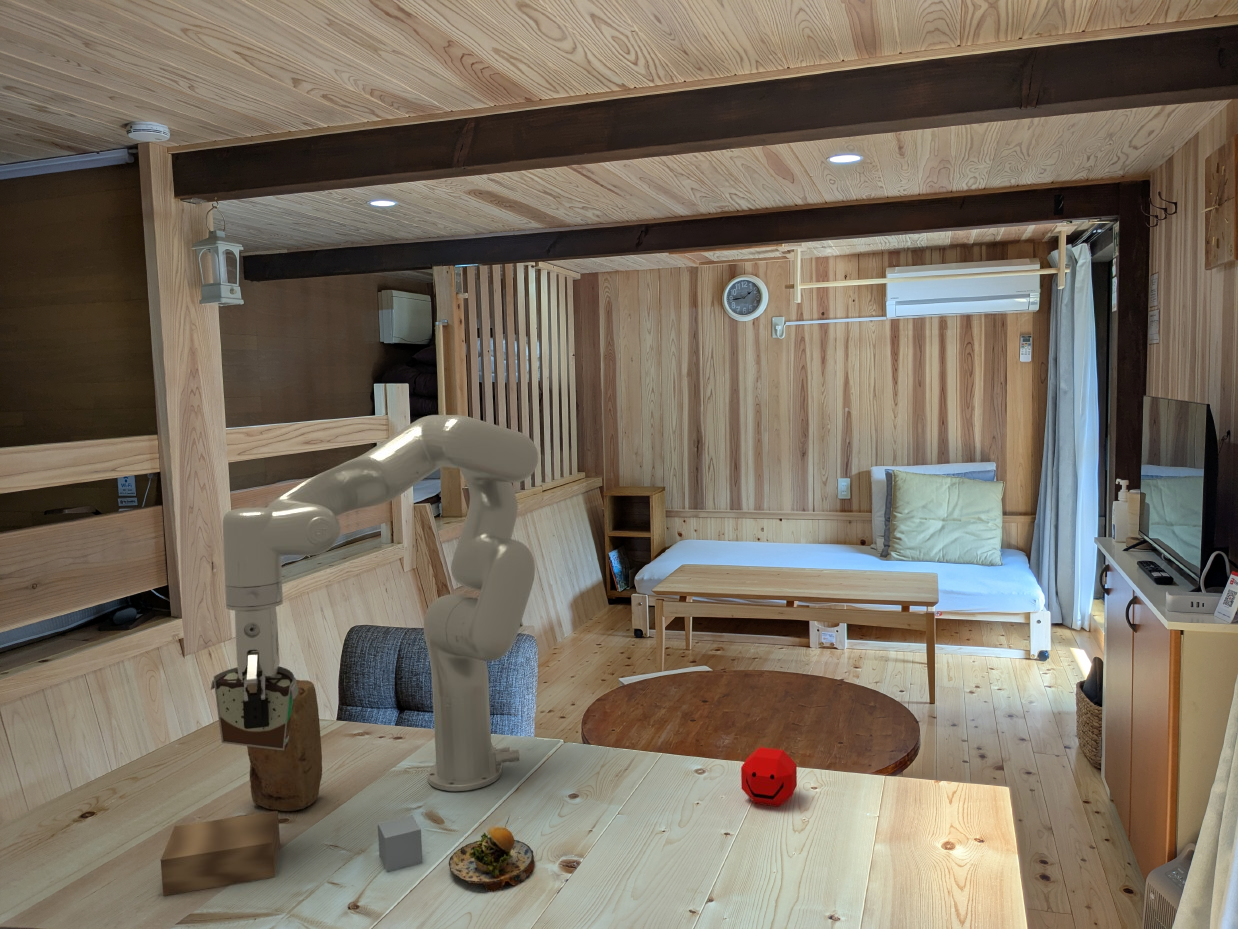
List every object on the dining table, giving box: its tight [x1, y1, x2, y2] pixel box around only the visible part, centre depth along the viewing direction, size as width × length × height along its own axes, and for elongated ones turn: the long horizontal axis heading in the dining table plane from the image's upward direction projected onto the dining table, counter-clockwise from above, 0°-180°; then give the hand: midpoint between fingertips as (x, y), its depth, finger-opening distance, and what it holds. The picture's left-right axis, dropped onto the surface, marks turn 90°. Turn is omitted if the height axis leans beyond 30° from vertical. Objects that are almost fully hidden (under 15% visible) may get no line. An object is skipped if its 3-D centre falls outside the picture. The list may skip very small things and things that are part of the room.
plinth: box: [160, 810, 281, 897], centre depth 128 cm, size 14×10×5 cm
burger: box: [448, 815, 535, 893], centre depth 126 cm, size 12×12×8 cm
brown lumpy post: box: [246, 678, 323, 812], centre depth 148 cm, size 11×8×20 cm
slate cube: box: [377, 814, 424, 873], centre depth 129 cm, size 5×5×5 cm
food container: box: [210, 665, 298, 750], centre depth 131 cm, size 12×6×10 cm, turn 84°
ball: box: [740, 747, 798, 807], centre depth 144 cm, size 8×8×8 cm
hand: (258, 717), depth 130 cm, fingers closed on food container, 6 cm apart
